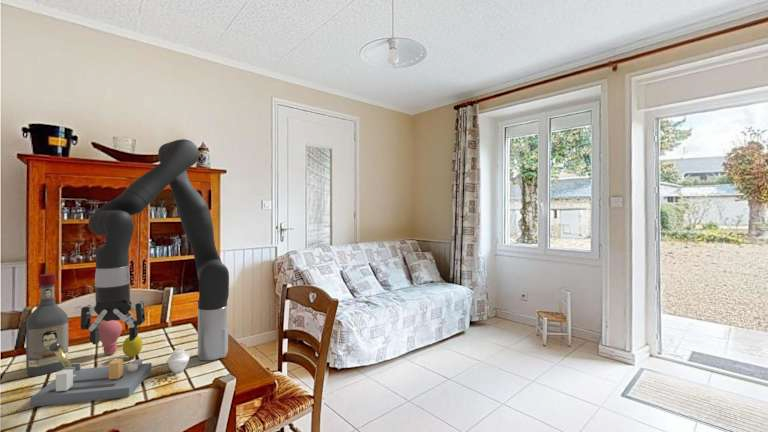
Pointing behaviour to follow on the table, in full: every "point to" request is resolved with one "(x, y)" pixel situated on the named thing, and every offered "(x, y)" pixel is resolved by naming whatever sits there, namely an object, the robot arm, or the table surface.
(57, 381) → the grey slider
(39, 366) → the liquor
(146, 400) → the table surface
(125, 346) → the lemon
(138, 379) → the panel
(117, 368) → the orange slider
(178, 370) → the white egg shape
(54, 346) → the brass lever
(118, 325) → the light bulb
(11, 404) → the table surface
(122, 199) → the robot arm
